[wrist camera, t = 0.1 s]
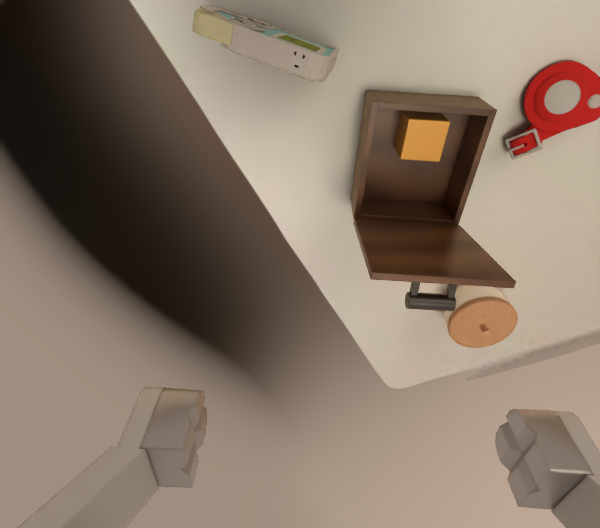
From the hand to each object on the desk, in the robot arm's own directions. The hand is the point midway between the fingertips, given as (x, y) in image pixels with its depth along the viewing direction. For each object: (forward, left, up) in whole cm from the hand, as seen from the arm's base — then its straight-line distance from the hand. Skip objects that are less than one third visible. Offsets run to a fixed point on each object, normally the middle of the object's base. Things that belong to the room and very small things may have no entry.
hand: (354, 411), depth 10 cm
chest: (+9, +13, -48) cm, 50 cm away
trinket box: (+34, +29, -48) cm, 66 cm away
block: (+6, +13, -47) cm, 49 cm away
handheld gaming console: (-4, -6, -48) cm, 49 cm away
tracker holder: (+2, +29, -48) cm, 56 cm away
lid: (+15, +13, -33) cm, 39 cm away
